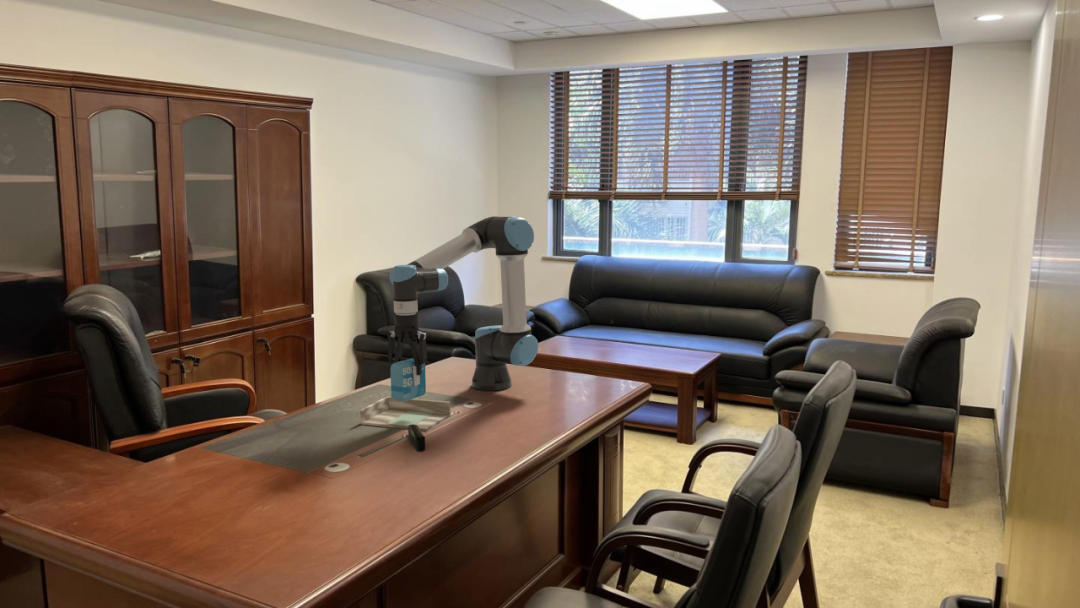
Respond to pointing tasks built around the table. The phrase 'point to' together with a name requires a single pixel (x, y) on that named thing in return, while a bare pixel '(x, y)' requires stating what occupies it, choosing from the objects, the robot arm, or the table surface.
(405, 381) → the data package
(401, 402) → the tray
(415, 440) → the mobile phone
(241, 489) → the table surface
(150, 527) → the table surface
